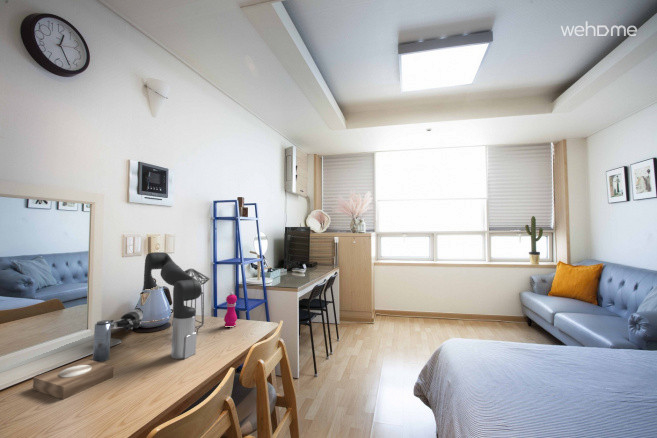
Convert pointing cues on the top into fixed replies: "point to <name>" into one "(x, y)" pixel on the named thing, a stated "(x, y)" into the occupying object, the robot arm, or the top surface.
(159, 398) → the top surface
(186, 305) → the geometric lantern
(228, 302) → the pepper mill
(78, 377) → the stand
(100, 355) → the cylinder
